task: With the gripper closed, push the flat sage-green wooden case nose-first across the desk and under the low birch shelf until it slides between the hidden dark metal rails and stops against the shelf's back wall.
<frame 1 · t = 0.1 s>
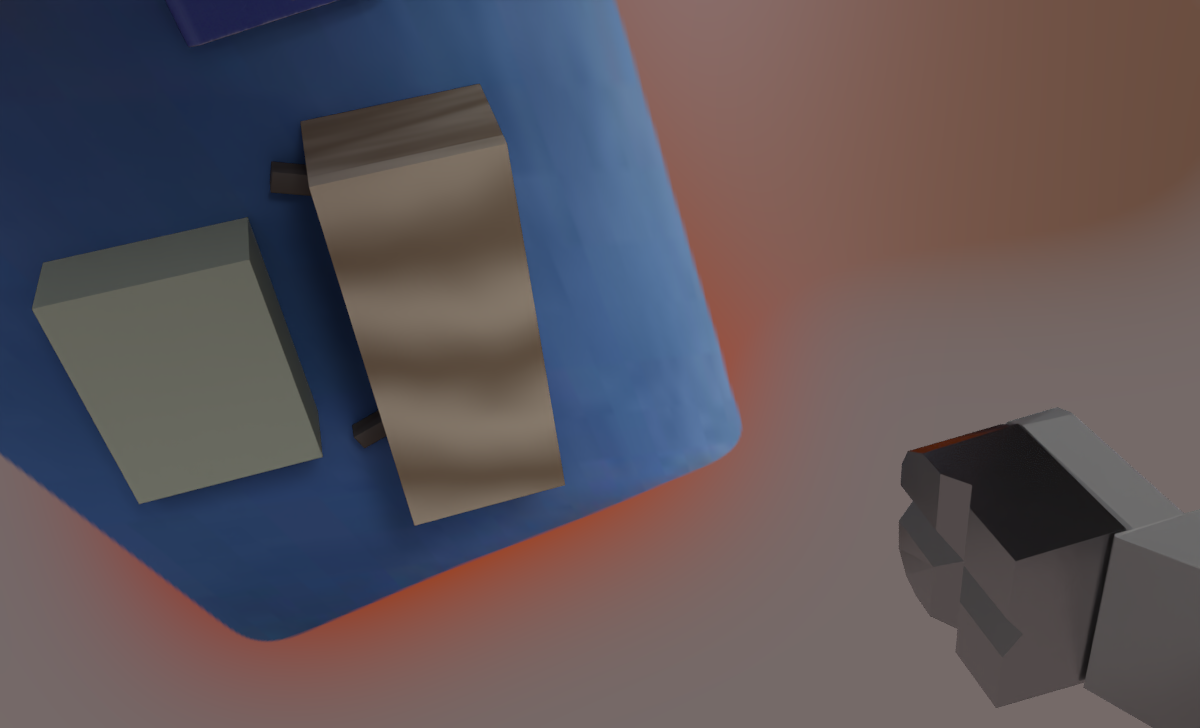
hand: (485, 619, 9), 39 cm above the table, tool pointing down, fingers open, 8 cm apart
low shelf: (415, 290, 53), on the table
case: (192, 338, 52), on the table
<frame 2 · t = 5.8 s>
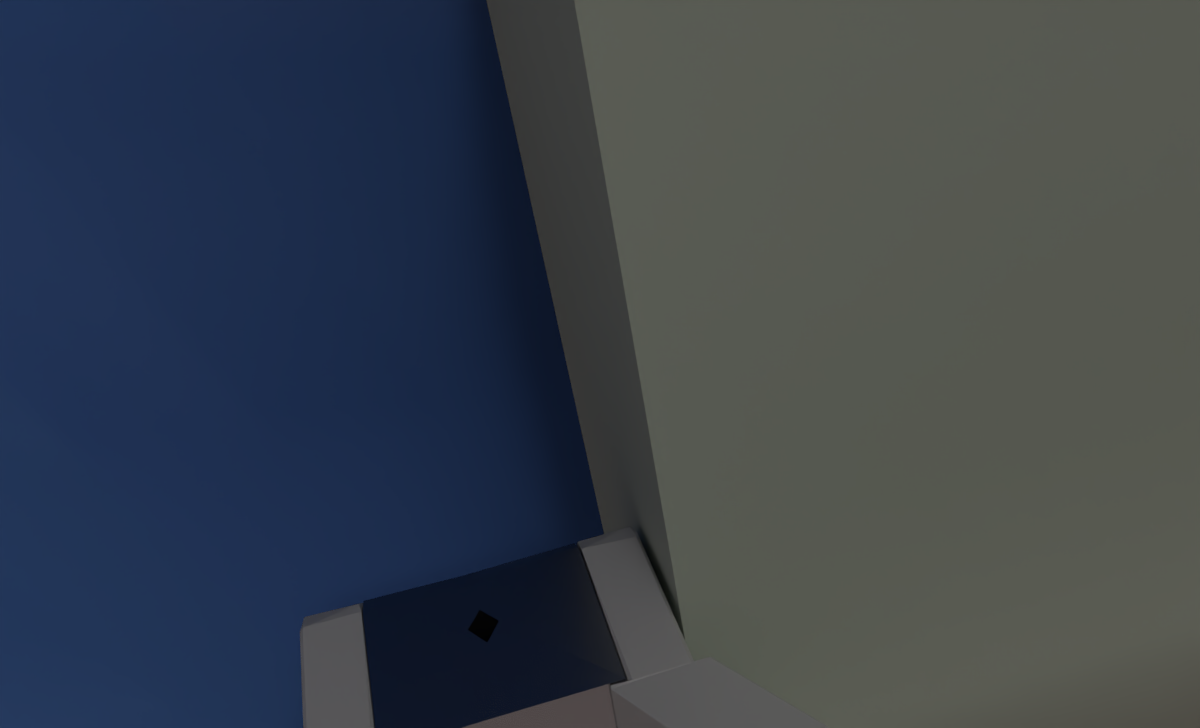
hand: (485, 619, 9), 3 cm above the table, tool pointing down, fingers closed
case: (943, 314, 13), on the table, touching gripper
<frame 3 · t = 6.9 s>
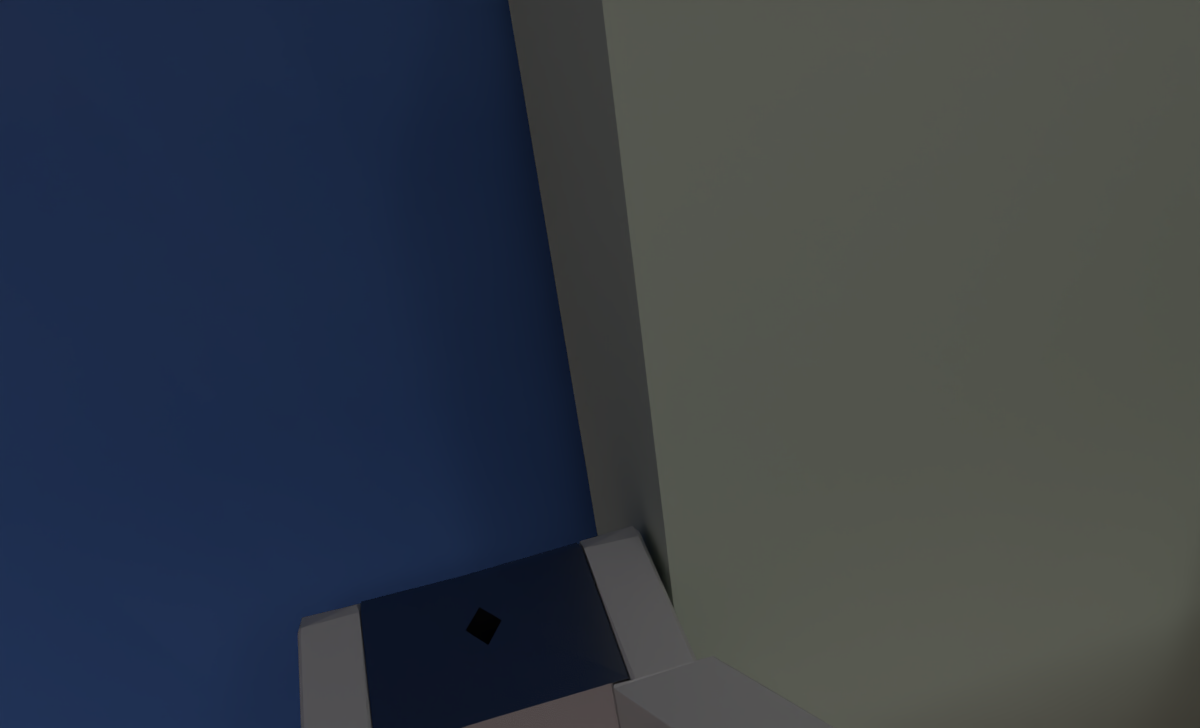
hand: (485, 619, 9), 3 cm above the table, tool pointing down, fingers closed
case: (926, 302, 13), on the table
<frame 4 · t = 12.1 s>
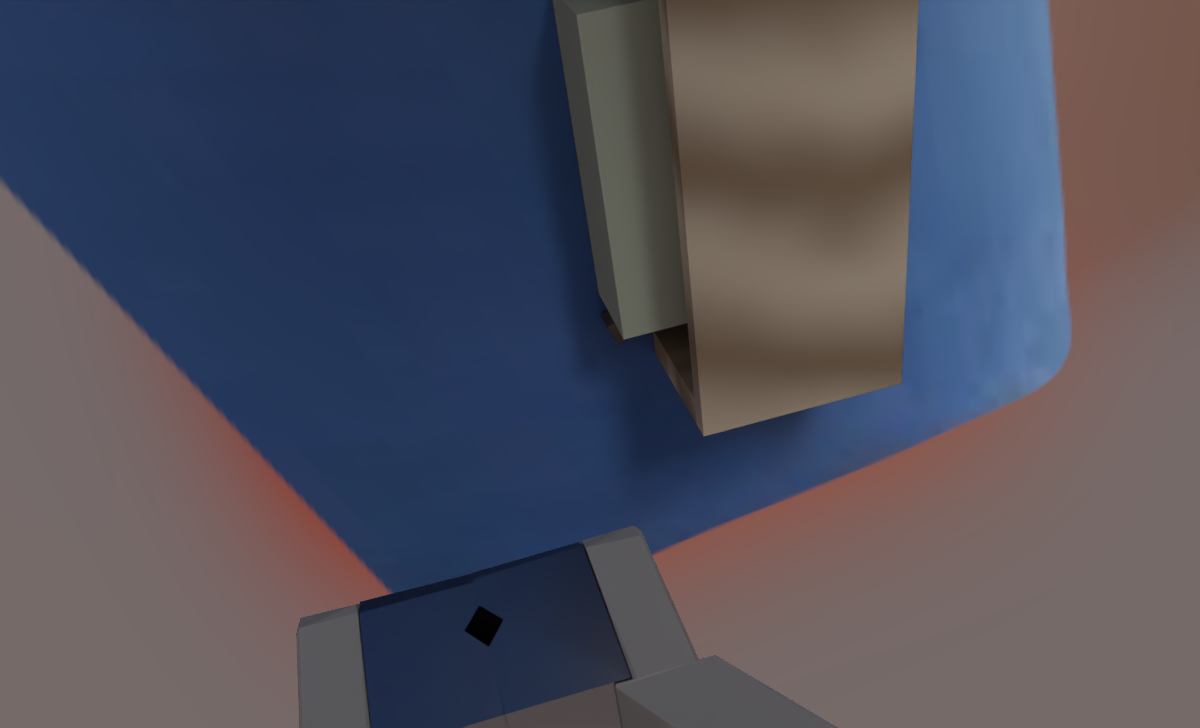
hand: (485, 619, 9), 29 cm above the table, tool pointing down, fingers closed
low shelf: (707, 110, 39), on the table
case: (690, 122, 40), on the table
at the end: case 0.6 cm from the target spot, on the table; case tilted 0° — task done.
